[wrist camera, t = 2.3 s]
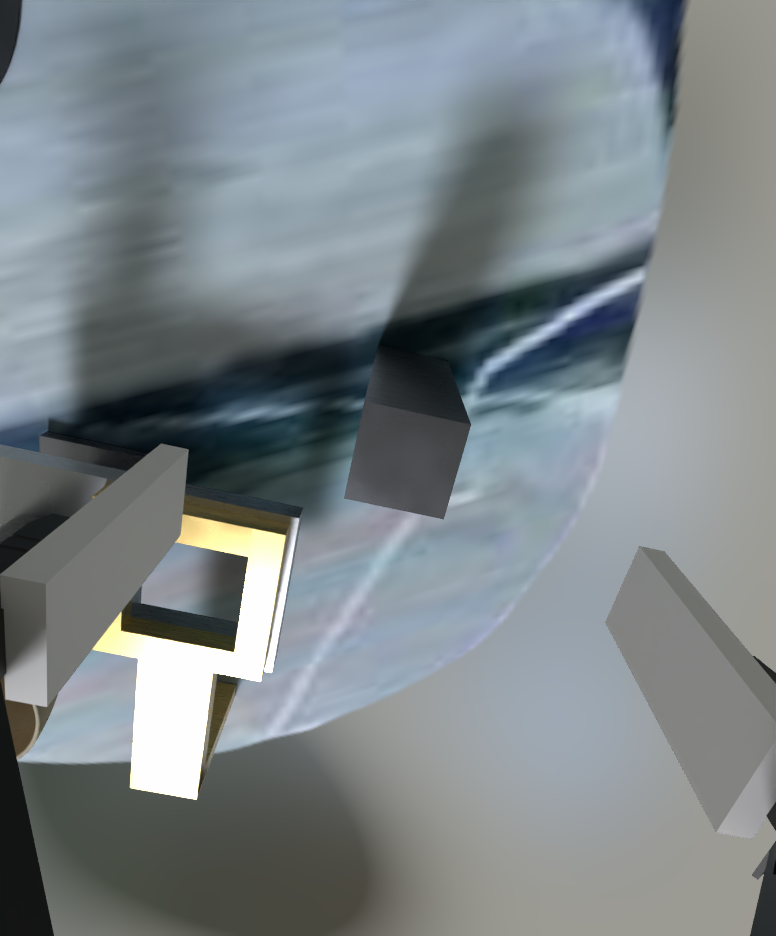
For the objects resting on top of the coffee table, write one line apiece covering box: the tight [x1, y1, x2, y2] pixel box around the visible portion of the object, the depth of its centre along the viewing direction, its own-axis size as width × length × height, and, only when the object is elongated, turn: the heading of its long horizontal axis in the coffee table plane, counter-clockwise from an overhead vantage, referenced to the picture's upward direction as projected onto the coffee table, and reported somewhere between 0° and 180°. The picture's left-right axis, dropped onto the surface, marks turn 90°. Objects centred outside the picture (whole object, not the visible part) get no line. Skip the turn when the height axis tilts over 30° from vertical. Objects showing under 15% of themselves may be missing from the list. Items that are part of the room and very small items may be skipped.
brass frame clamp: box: [0, 431, 303, 799], centre depth 27 cm, size 20×16×22 cm
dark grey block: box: [344, 345, 471, 519], centre depth 27 cm, size 4×4×12 cm
